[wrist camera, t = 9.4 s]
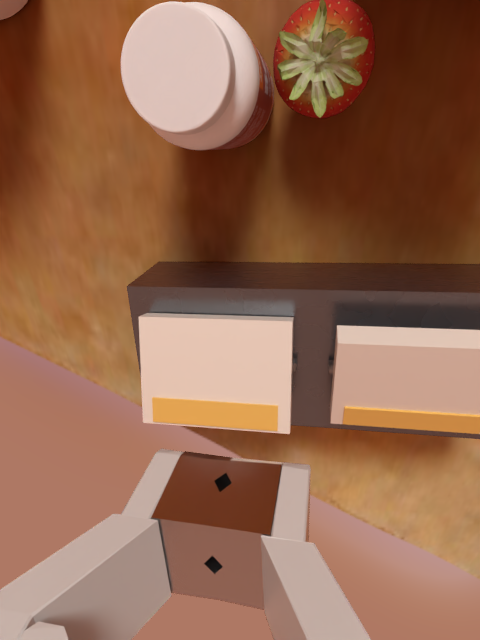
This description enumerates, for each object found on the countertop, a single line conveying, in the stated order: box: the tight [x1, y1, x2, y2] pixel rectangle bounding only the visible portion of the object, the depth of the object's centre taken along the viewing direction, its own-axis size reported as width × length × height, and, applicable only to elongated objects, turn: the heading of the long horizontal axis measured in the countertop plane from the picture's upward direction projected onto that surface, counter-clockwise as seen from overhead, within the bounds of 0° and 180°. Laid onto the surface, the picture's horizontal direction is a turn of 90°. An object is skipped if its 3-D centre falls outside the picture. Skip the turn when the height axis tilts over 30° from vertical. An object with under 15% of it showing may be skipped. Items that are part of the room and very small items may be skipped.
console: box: [127, 262, 480, 439], centre depth 29 cm, size 24×10×7 cm, turn 92°
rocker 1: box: [139, 313, 294, 434], centre depth 26 cm, size 10×7×2 cm
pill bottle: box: [121, 2, 274, 150], centre depth 22 cm, size 6×6×11 cm
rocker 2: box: [330, 325, 480, 434], centre depth 24 cm, size 10×7×2 cm
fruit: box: [273, 0, 375, 118], centre depth 22 cm, size 5×5×8 cm
